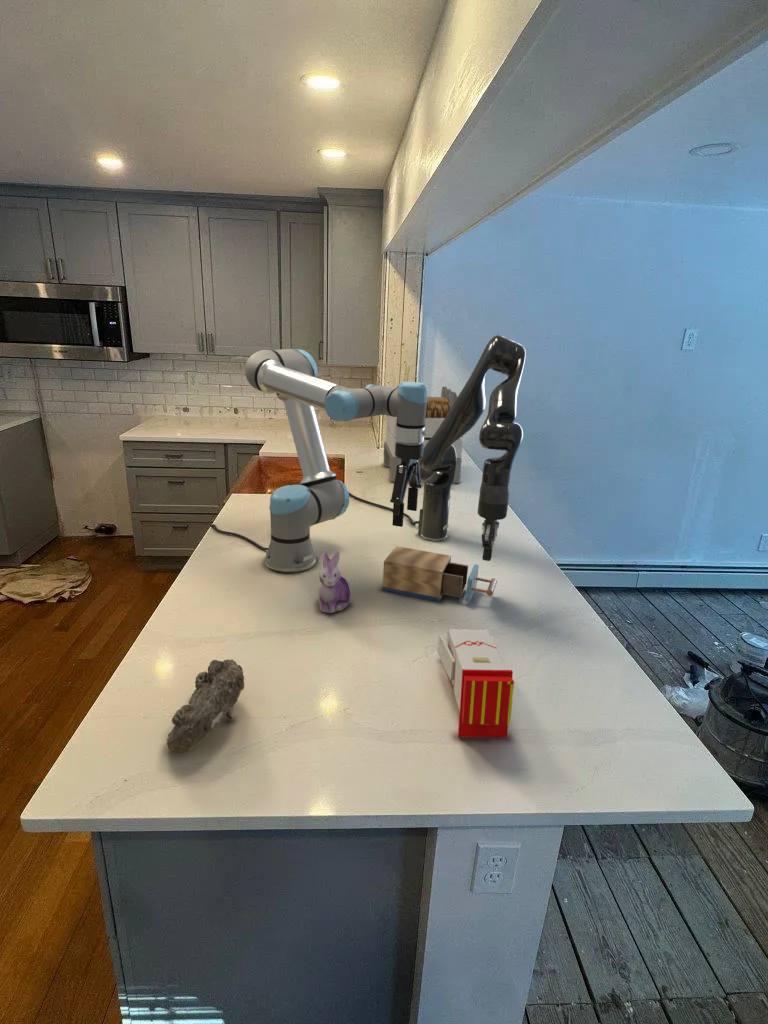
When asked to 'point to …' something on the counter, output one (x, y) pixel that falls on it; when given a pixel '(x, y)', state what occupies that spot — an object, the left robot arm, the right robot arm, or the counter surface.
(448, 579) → the drawer
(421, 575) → the cabinet
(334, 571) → the figurine
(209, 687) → the fossil
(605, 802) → the counter surface
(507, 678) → the toy
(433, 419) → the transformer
